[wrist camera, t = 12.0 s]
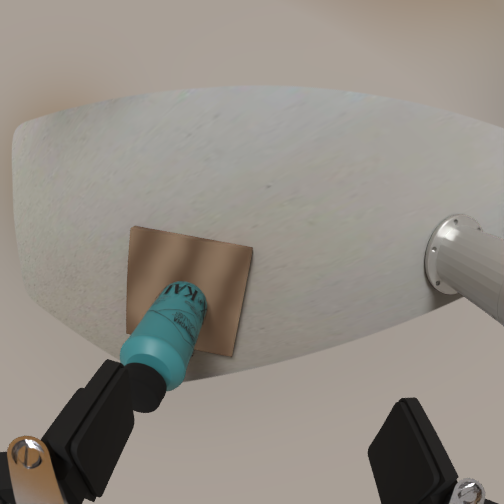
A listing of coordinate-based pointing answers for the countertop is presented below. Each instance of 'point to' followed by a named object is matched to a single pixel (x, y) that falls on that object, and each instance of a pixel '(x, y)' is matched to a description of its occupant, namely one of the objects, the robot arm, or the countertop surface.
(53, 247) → the countertop surface
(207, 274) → the walnut board
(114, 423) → the robot arm
